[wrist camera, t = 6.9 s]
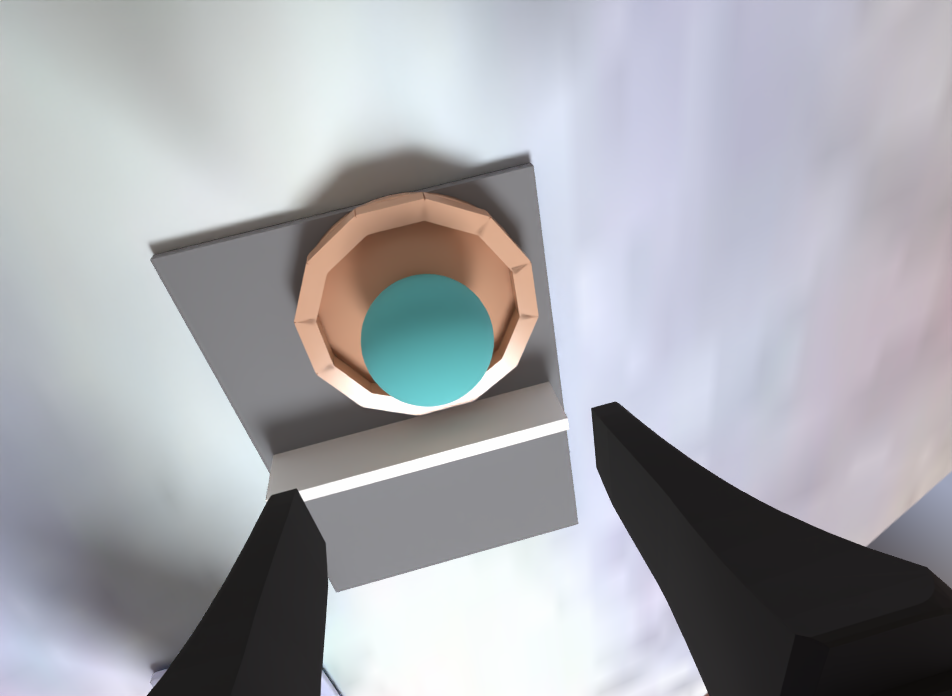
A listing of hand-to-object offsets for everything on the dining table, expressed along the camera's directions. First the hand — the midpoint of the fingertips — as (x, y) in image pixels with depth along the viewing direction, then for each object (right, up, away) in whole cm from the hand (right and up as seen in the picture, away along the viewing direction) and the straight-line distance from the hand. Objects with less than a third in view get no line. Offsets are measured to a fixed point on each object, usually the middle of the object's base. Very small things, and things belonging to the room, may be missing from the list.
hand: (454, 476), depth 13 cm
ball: (-2, +4, +7) cm, 9 cm away
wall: (-2, 0, +10) cm, 11 cm away
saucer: (-2, +5, +7) cm, 9 cm away
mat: (-2, 0, +11) cm, 11 cm away
